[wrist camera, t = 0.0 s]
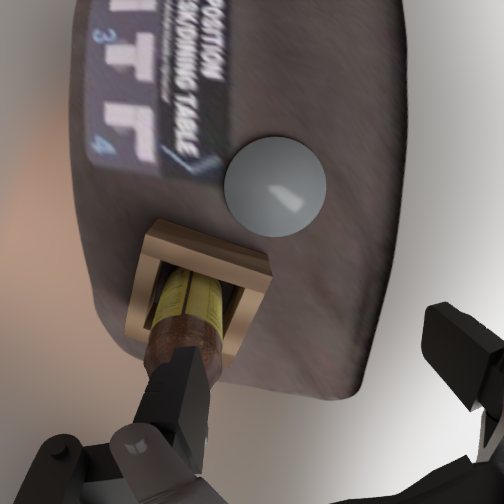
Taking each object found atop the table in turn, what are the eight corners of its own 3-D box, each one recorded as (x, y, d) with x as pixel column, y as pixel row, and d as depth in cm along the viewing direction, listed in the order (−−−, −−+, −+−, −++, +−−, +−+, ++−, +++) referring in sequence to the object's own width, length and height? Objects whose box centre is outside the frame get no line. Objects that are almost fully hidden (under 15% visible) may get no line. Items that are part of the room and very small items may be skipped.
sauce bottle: (167, 305, 34) (123, 454, 16) (167, 256, 32) (104, 400, 14) (223, 311, 35) (217, 467, 17) (228, 262, 33) (223, 417, 14)
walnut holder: (158, 217, 30) (145, 234, 26) (267, 255, 33) (272, 276, 28) (135, 310, 35) (123, 335, 30) (229, 339, 37) (229, 367, 32)
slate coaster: (246, 121, 27) (246, 121, 27) (339, 160, 29) (341, 161, 29) (210, 215, 31) (209, 217, 30) (300, 247, 33) (301, 249, 32)
